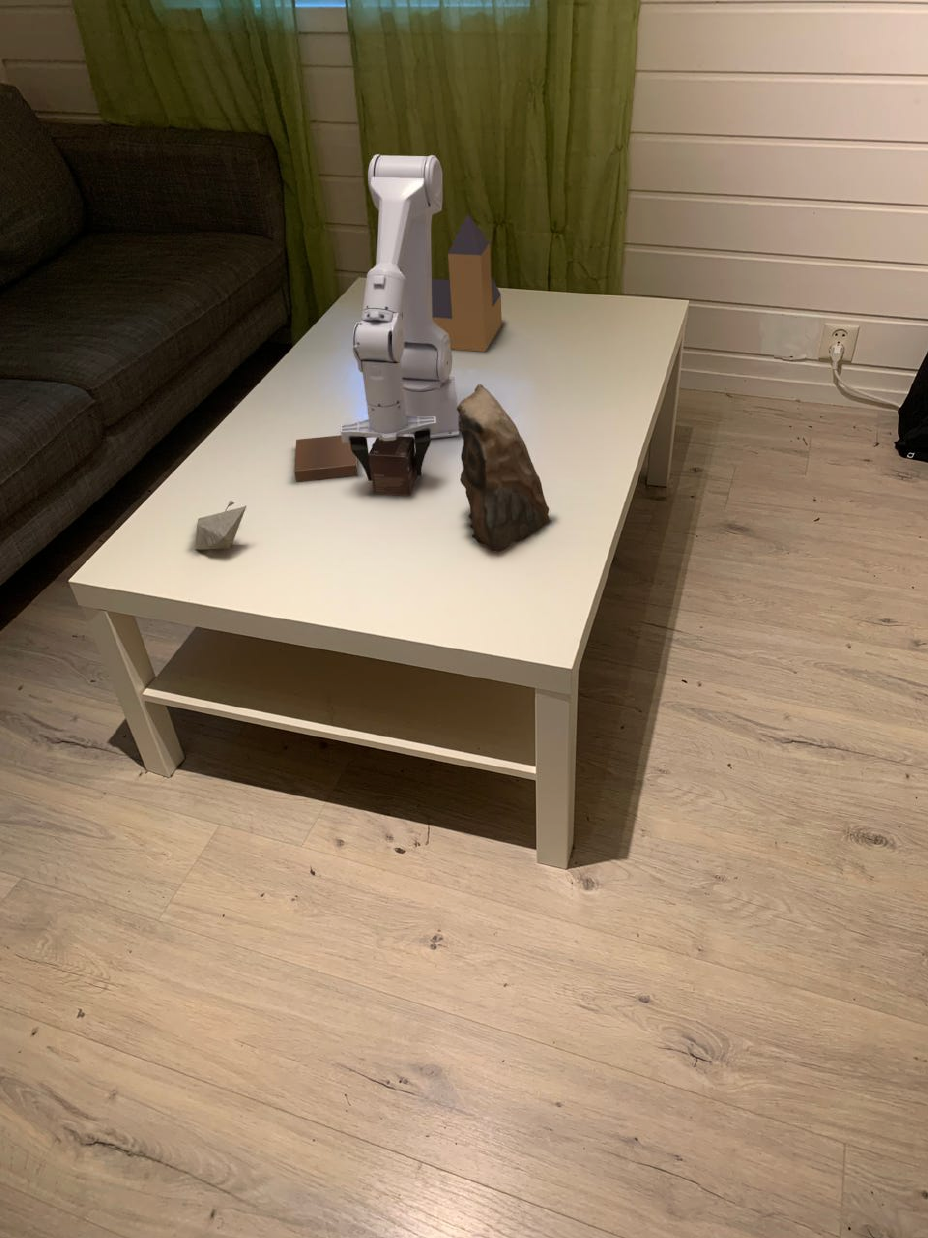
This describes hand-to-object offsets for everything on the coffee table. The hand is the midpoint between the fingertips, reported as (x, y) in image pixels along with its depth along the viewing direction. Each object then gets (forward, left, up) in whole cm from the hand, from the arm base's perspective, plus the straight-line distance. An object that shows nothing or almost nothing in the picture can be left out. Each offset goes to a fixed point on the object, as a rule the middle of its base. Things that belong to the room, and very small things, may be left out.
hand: (394, 475), depth 159 cm
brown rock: (-16, +14, -2) cm, 21 cm away
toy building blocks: (-13, -53, -2) cm, 55 cm away
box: (0, 0, -2) cm, 2 cm away
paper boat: (+26, +11, -2) cm, 28 cm away
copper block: (+11, -9, -2) cm, 14 cm away
